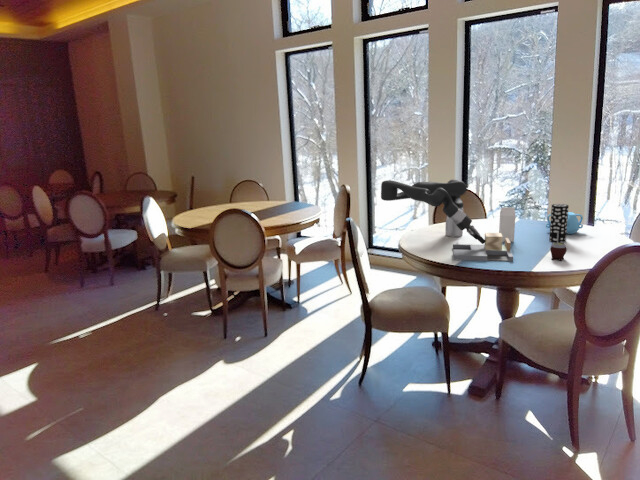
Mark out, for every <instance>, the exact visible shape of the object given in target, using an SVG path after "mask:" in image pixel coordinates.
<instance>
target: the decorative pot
mask: <svg viewBox="0 0 640 480" xmlns="http://www.w3.org/2000/svg"><path fill="white" fill-rule="evenodd" d="M577 216H578V217H580V220H579V219H578V217H577ZM550 218H551V213H550V214H548V215H547V218H546V220H547V223H546V224H545V227H546V228H547V229H550V223H551V220H550ZM583 219H584V217H583V215H582V214H580V213H575V212H572V211H568V219H567V232H566V234H568V235H574V234H575V233H578V232H579V230H581V229H583V227H584V225H583V224H582V222H583Z"/></svg>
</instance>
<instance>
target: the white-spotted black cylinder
mask: <svg viewBox="0 0 640 480" xmlns="http://www.w3.org/2000/svg"><path fill="white" fill-rule="evenodd" d="M569 207H570V206H569V204H564V203H554V204H551V211H550V214H551V216H550V221H551V223H550V228H549V239H548V240H549V242H552V243H554V242H557V232H558V234H559V237H558V242H561V243H566V241H567V233H566V232H567V219H568V212H569Z"/></svg>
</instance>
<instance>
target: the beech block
mask: <svg viewBox="0 0 640 480" xmlns="http://www.w3.org/2000/svg"><path fill="white" fill-rule="evenodd" d="M484 240H485V243H484V245H485V249H486V250H502V245H503V242H502V240H503V236H502V234H501V233H499V232H485V233H484Z"/></svg>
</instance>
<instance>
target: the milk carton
mask: <svg viewBox="0 0 640 480" xmlns="http://www.w3.org/2000/svg"><path fill="white" fill-rule="evenodd" d="M515 227H516V210H515V206H513V207H512V206H511V207H510V206H509V207H507V206H504V207H503V206H502V207H500V213H499V227H498V228H499V229H498V230H499V231H498V233H501V234H502V236H503V240H502V243H505V238H508V239H509V241H510V243H511V242H515Z"/></svg>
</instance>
